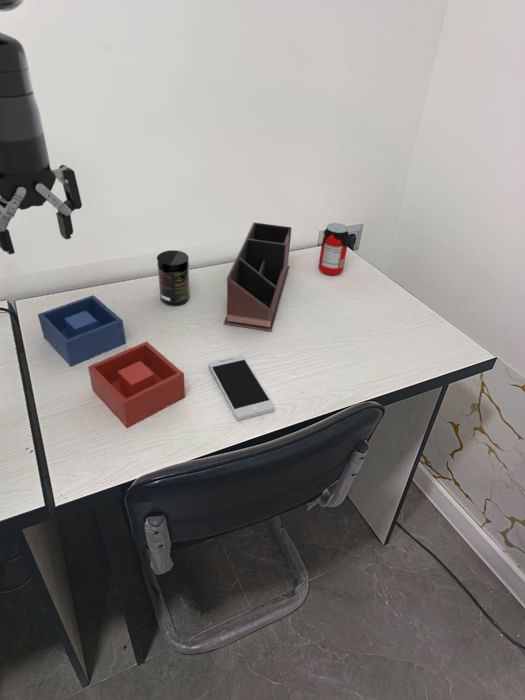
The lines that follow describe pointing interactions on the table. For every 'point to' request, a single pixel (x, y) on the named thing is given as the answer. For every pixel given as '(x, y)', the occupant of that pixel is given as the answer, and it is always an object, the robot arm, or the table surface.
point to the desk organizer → (258, 277)
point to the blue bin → (88, 342)
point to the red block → (135, 378)
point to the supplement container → (173, 277)
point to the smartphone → (241, 387)
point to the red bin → (145, 401)
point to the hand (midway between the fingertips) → (39, 244)
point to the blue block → (80, 324)
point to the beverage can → (333, 249)
